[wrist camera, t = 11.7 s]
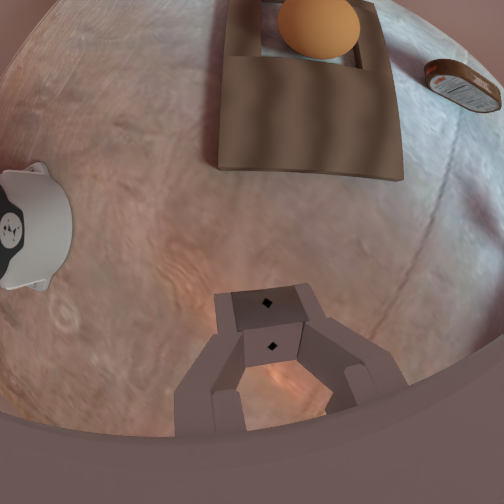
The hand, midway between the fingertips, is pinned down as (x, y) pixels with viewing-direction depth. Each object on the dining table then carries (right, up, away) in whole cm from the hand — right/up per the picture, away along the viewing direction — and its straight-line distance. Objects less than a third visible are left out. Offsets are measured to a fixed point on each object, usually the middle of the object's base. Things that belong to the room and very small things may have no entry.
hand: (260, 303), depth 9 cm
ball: (+8, +29, +15) cm, 33 cm away
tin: (+31, +26, +21) cm, 46 cm away
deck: (+7, +25, +20) cm, 33 cm away
